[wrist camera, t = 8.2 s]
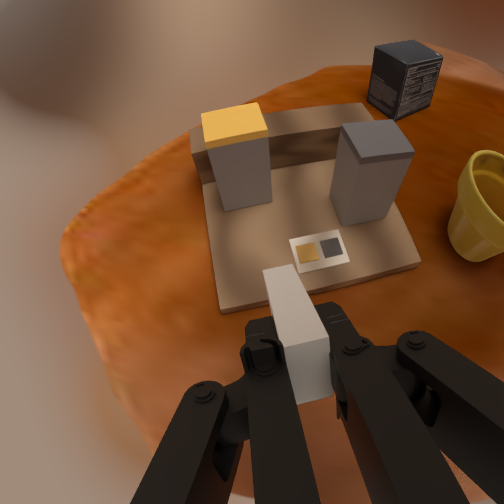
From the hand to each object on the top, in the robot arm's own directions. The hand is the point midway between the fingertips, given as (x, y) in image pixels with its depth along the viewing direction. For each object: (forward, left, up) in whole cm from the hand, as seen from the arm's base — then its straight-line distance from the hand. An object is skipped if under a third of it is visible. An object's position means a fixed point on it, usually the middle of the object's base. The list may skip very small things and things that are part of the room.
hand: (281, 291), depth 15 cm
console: (-5, -13, -13) cm, 19 cm away
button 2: (0, -15, -11) cm, 19 cm away
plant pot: (-24, -5, -13) cm, 28 cm away
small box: (-27, -30, -13) cm, 42 cm away
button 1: (-11, -11, -11) cm, 19 cm away
